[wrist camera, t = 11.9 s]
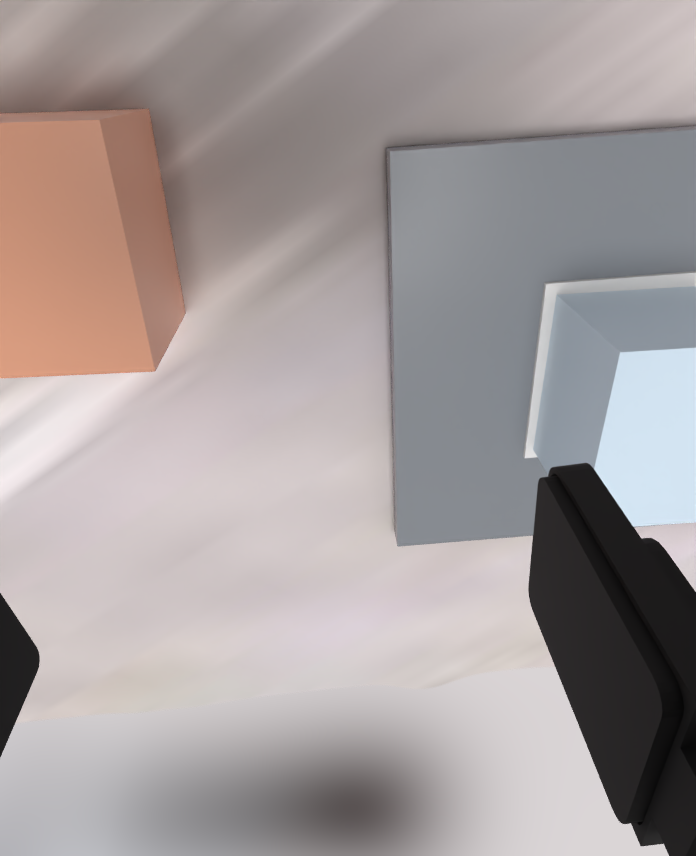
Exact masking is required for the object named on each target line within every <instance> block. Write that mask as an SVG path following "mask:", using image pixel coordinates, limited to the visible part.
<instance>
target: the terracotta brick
mask: <svg viewBox="0 0 696 856" xmlns="http://www.w3.org/2000/svg"><path fill="white" fill-rule="evenodd" d="M185 314H186V312H185V306H184V301H183V295H182V290H181V284H180V279H179V273H178V268H177V262H176V257H175V251H174V245H173V240H172V234H171V229H170V223H169V218H168V212H167V207H166V201H165V196H164V190H163V184H162V179H161V173H160V168H159V162H158V157H157V151H156V146H155V140H154V135H153V129H152V123H151V118H150V112H149V109H125V110H92V111H59V112H26V113H0V378H18V377H40V376H63V375H85V374H107V373H130V372H152V371H156V369H157V367H158V365H159V363H160V361H161V359H162V357H163V356H164V354H165V352H166V350H167V348H168V346H169V344H170V342H171V340H172V338H173V337H174V335H175V333H176V331H177V329H178V327H179V325H180V323H181V321H182V319H183V317H184V316H185Z"/></svg>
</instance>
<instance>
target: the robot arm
mask: <svg viewBox="0 0 696 856" xmlns="http://www.w3.org/2000/svg"><path fill="white" fill-rule="evenodd" d="M529 598H530V603H531V607H532V610H533V612H534V615H535V617H536V620H537V622H538V625H539V627H540V630H541V632H542V635H543V637H544V640H545V642H546V645H547V647H548V650H549V652H550V655H551V657H552V660H553V662H554V665H555V667H556V669H557V672H558V675H559V677H560V679H561V682H562V684H563V687H564V689H565V692H566V694H567V697H568V699H569V702H570V704H571V707H572V709H573V712H574V714H575V717H576V719H577V721H578V724H579V727H580V729H581V732H582V734H583V737H584V739H585V742H586V744H587V747H588V749H589V752H590V754H591V757H592V759H593V762H594V764H595V767H596V769H597V772H598V774H599V777H600V779H601V782H602V784H603V787H604V789H605V792H606V794H607V797H608V799H609V802H610V804H611V807H612V809H613V811H614V813H615V815H616V817H617V818H618V820H619V821H620V822H621V823H623V824H629V823H631V824H632V826H633V829H634V831H635V834H636V836H637V838H638V841H639V843H640V846H648V845H656V844H664V845H665V847H666V849H667V852H668V854H669V856H696V592H695V591H694V589H693V588H692V586H691V585H690V584H689V582H688V581H687V579H686V578H685V577H684V575H683V574H682V572H681V571H680V570H679V568H678V567H677V565H676V564H675V563H674V561H673V560H672V558H671V557H670V556H669V554H668V553H667V551H666V550H665V549H664V548H663V547H662V546H661V544H660V543H659V542H657V541H656V540H654V539H652V538H643V539H641V537H640V536H639V535H638V533H637V532H636V530H635V529H634V527H633V526H632V524H631V523H630V521H629V520H628V518H627V517H626V515H625V514H624V512H623V511H622V510H621V508H620V507H619V505H618V504H617V502H616V501H615V499H614V498H613V496H612V495H611V493H610V492H609V490H608V489H607V487H606V486H605V485H604V483H603V482H602V480H601V479H600V477H599V476H598V474H597V473H596V471H595V470H594V468H593V467H592V466H591V465H590V464H588V463H580V464H572V465H565V466H557V467H552V468H551V469H550V470H549V474H548V477H541V478H540V479H539V481H538V488H537V499H536V510H535V521H534V532H533V543H532V554H531V565H530V576H529ZM38 668H39V652H38V649H37V647H36V646H35V644H34V643H33V641H32V640H31V638H30V637H29V635H28V634H27V632H26V631H25V629H24V628H23V626H22V625H21V623H20V622H19V620H18V619H17V617H16V616H15V614H14V613H13V611H12V610H11V608H10V607H9V605H8V604H7V602H6V601H5V599H4V598H3V596H2V595H1V593H0V757H1V755H2V752H3V750H4V748H5V745H6V743H7V741H8V738H9V736H10V734H11V731H12V729H13V727H14V724H15V722H16V720H17V717H18V715H19V713H20V710H21V708H22V706H23V704H24V701H25V699H26V697H27V694H28V692H29V690H30V687H31V685H32V683H33V680H34V678H35V676H36V673H37V671H38Z"/></svg>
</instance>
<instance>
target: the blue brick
mask: <svg viewBox="0 0 696 856" xmlns="http://www.w3.org/2000/svg"><path fill="white" fill-rule="evenodd" d="M533 450H534V452H535V454H536V455H537V457H538V459H539V460H540V462H541V464H542V466H543V467H544V469H545V471H546V472H547V474H549V470H550V469H551V468H552V467H557V466H565V465H572V464H580V463H588V464H590V465H591V466H592V467H593V468H594V470H595V471H596V473H597V474H598V476H599V477H600V479H601V480H602V482H603V483H604V485H605V486H606V487H607V489H608V490H609V492H610V493H611V495H612V496H613V498H614V499H615V501H616V502H617V504H618V505H619V507H620V508H621V510H622V511H623V512H624V514H625V515H626V517H627V518H628V520H629V521H630V523H631V524H632V526H633V527H636V526H650V525H665V524H679V523H693V522H696V287H695V286H690V287H673V288H657V289H640V290H624V291H607V292H590V293H574V294H557V295H556V302H555V308H554V315H553V321H552V328H551V335H550V341H549V348H548V354H547V361H546V367H545V374H544V381H543V387H542V394H541V400H540V407H539V414H538V420H537V427H536V433H535V440H534V447H533Z"/></svg>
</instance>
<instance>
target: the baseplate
mask: <svg viewBox="0 0 696 856" xmlns="http://www.w3.org/2000/svg"><path fill="white" fill-rule="evenodd" d="M387 194H388V240H389V286H390V332H391V378H392V424H393V470H394V516H395V536H396V541H397V546H409V545H421V544H434V543H446V542H458V541H471V540H483V539H495V538H507V537H520V536H532V535H533V532H534V521H535V510H536V499H537V488H538V481H539V479H540V478H541V477H548V474H547V472H546V471H545V469H544V467H543V466H542V464H541V462H540V460H539V459H538V457H537V455H536V454H535V452H534V450H533V447H534V440H535V433H536V427H537V420H538V414H539V407H540V400H541V394H542V387H543V381H544V374H545V367H546V361H547V354H548V348H549V341H550V335H551V328H552V321H553V315H554V308H555V302H556V295H557V294H574V293H590V292H607V291H624V290H640V289H657V288H673V287H690V286H695V287H696V126H685V127H671V128H657V129H643V130H629V131H615V132H601V133H587V134H573V135H559V136H545V137H531V138H517V139H504V140H490V141H476V142H462V143H448V144H434V145H420V146H406V147H392V148H387ZM665 525H667V524H665ZM650 526H655V525H650ZM636 527H642V526H636Z"/></svg>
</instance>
